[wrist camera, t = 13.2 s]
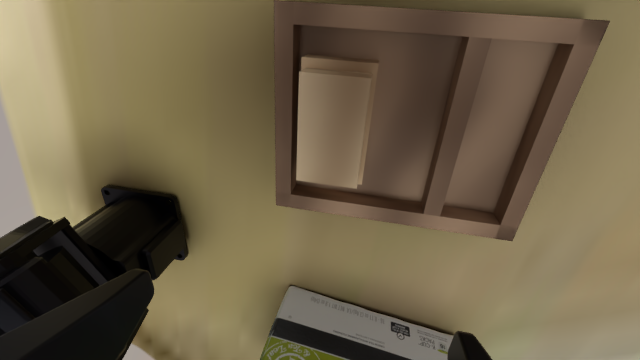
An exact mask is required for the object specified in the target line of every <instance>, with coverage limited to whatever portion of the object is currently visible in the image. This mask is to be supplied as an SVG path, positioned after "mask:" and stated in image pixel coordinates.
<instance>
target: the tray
mask: <svg viewBox="0 0 640 360" xmlns="http://www.w3.org/2000/svg"><path fill="white" fill-rule="evenodd" d="M609 22H610V21H605V20H588V19H572V18H555V17H539V16H523V15H506V14H490V13H473V12H457V11H441V10H424V9H408V8H392V7H375V6H359V5H342V4H326V3H310V2H293V1H277V0H274V50H275V151H276V205H279V206H285V207H292V208H298V209H305V210H311V211H318V212H325V213H331V214H338V215H344V216H351V217H357V218H364V219H370V220H377V221H383V222H390V223H396V224H403V225H410V226H416V227H423V228H429V229H436V230H442V231H449V232H455V233H462V234H468V235H475V236H482V237H488V238H495V239H501V240H508V241H513V238H514V236H515V234H516V232H517V229H518V227H519V225H520V223H521V220H522V218H523V216H524V214H525V211H526V209H527V207H528V205H529V202H530V200H531V198H532V196H533V193H534V191H535V189H536V187H537V184H538V182H539V180H540V178H541V175H542V173H543V171H544V169H545V166H546V164H547V162H548V160H549V157H550V155H551V153H552V151H553V148H554V146H555V144H556V142H557V139H558V137H559V135H560V133H561V130H562V128H563V126H564V124H565V121H566V119H567V117H568V115H569V112H570V110H571V108H572V106H573V103H574V101H575V99H576V97H577V94H578V92H579V90H580V88H581V85H582V83H583V81H584V79H585V76H586V74H587V72H588V70H589V67H590V65H591V63H592V60H593V58H594V56H595V54H596V51H597V49H598V47H599V45H600V42H601V40H602V38H603V36H604V33H605V31H606V29H607V27H608V24H609ZM307 54H311V55H323V56H334V57H346V58H358V59H370V60H379V65H378V72H377V79H376V86H375V93H374V100H373V108H372V115H371V122H370V129H369V136H368V144H367V151H366V158H365V165H364V172H363V179H362V185H360V184H357V189H355V188H348V187H341V186H333V185H326V184H319V183H312V182H305V181H298V180H296V172H297V132H298V93H299V71H301V59H302V57H303V56H305V55H307Z"/></svg>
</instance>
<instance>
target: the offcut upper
mask: <svg viewBox="0 0 640 360" xmlns="http://www.w3.org/2000/svg"><path fill="white" fill-rule="evenodd" d="M371 80H372V73H361V72H350V71H338V70H327V69H316V68H304V69H303V70H301V71H299V93H298V132H297V172H296V180H298V181H305V182H312V183H319V184H326V185H333V186H341V187H348V188H355V189H357V184H358V178H359V170H360V163H361V155H362V148H363V140H364V133H365V125H366V117H367V110H368V102H369V95H370V87H371Z"/></svg>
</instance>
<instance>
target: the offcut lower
mask: <svg viewBox="0 0 640 360" xmlns="http://www.w3.org/2000/svg"><path fill="white" fill-rule="evenodd" d="M378 65H379V60H370V59H358V58H346V57H334V56H323V55H311V54H307V55H305V56H303V57H302V59H301V70H303V69H304V68H316V69H327V70H338V71H350V72H361V73H372V80H371V87H370V95H369V102H368V110H367V117H366V125H365V133H364V140H363V148H362V155H361V163H360V170H359V178H358V184H360V185H362V179H363V172H364V165H365V158H366V151H367V144H368V136H369V129H370V122H371V115H372V108H373V100H374V93H375V86H376V79H377V72H378Z"/></svg>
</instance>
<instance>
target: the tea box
mask: <svg viewBox="0 0 640 360" xmlns="http://www.w3.org/2000/svg"><path fill="white" fill-rule="evenodd" d="M453 337H454V335H449V334H444V333H440V332H437V331H435V330H431V329H428V328H425V327H422V326H418V325H414V324H411V323H408V322H404V321H402V320H399V319H396V318H393V317H390V316H386V315H383V314H379V313H375V312H372V311H369V310H366V309H364V308H361V307H358V306H355V305H351V304H348V303H343V302H340V301H337V300H334V299H331V298H328V297H326V296H323V295H320V294H317V293H313V292H310V291H307V290H305V289H302V288H299V287H295V286H290V287H289V288H288V290H287V292H286V294H285V296H284V298H283V301H282V303H281V306H280V308H279V311H278V313H277V316H276V318H275V321H274V323H273V325H272V328H271V330H270V333H269V336H268V339H267V342H266V344H265V347H264V350H263V352H262V355H261V358H260V360H448V359H447V355H448V349H449V346H450V344H451V342H452V339H453Z"/></svg>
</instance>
